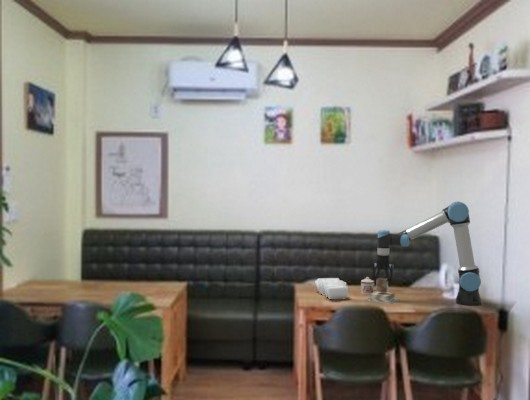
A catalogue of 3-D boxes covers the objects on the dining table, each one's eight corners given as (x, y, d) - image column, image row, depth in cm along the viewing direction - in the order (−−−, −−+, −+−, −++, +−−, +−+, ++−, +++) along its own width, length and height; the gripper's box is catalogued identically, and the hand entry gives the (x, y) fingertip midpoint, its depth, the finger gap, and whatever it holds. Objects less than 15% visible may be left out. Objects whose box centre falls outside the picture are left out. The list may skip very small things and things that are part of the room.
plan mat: (399, 300, 353) (400, 299, 353) (392, 304, 340) (392, 303, 340) (373, 296, 363) (373, 296, 362) (364, 301, 349) (364, 300, 349)
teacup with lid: (361, 295, 367) (361, 278, 366) (359, 292, 376) (359, 275, 376) (379, 295, 366) (379, 278, 366) (377, 293, 375) (377, 276, 375)
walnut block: (388, 291, 352) (388, 278, 352) (385, 292, 347) (385, 279, 347) (379, 290, 355) (379, 277, 355) (376, 291, 350) (376, 278, 350)
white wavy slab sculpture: (351, 301, 347) (351, 284, 347) (325, 301, 345) (325, 285, 345) (336, 291, 382) (336, 275, 382) (313, 291, 380) (313, 276, 379)
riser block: (394, 299, 353) (394, 293, 353) (388, 302, 343) (388, 296, 343) (376, 297, 359) (376, 291, 359) (370, 300, 349) (370, 294, 349)
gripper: (399, 255, 349) (398, 291, 349) (371, 252, 358) (370, 288, 359) (396, 256, 342) (395, 293, 343) (367, 254, 352) (366, 290, 352)
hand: (382, 290), depth 351 cm, fingers closed on walnut block, 6 cm apart
